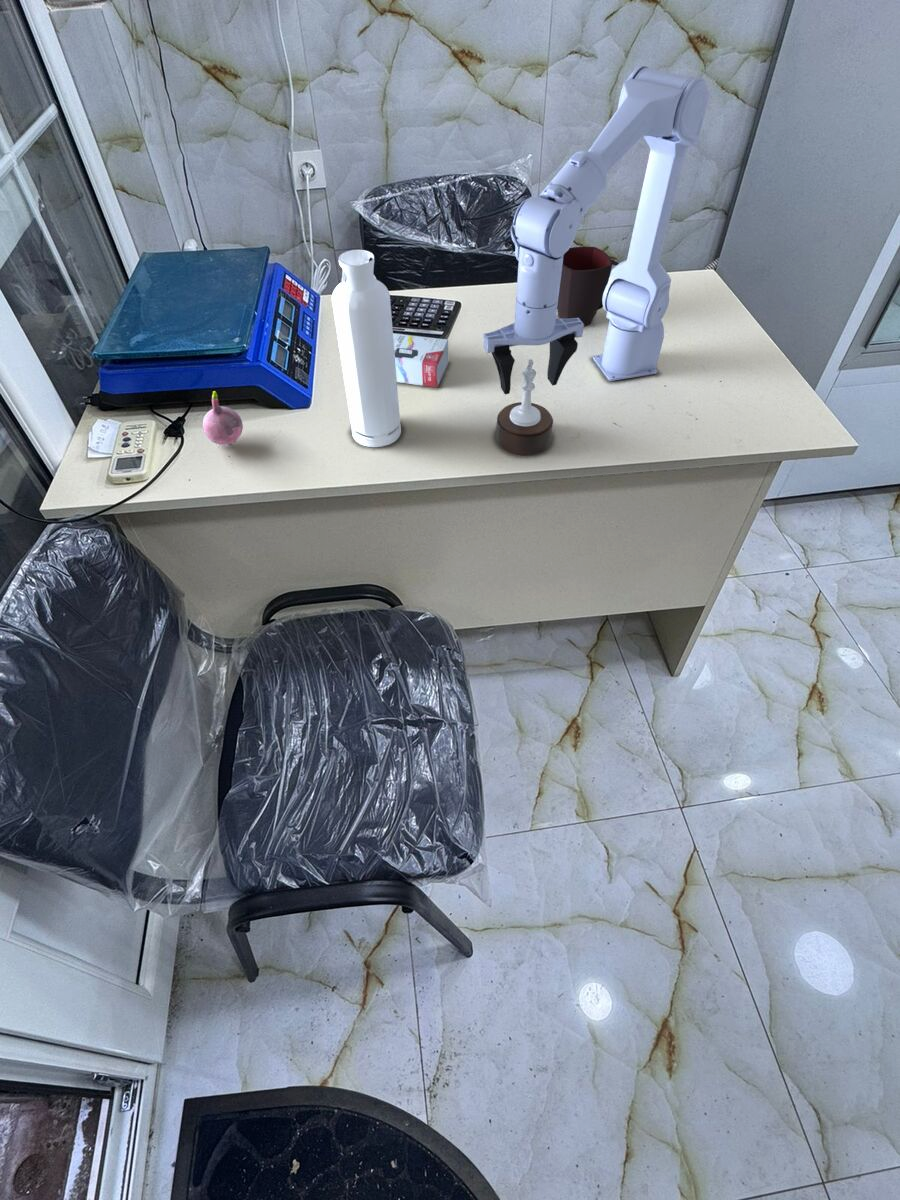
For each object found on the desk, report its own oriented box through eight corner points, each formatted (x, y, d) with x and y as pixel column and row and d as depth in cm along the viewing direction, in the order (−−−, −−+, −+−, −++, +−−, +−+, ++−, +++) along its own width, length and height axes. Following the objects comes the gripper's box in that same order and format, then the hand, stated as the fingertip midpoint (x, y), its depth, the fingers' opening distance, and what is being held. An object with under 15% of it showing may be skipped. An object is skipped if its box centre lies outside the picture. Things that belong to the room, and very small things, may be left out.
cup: (542, 311, 131) (549, 250, 122) (605, 302, 133) (616, 241, 124) (560, 336, 125) (568, 273, 116) (625, 326, 127) (639, 264, 118)
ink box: (437, 364, 111) (372, 356, 112) (437, 389, 115) (374, 380, 116) (448, 338, 116) (386, 330, 118) (448, 362, 120) (388, 355, 121)
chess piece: (544, 412, 103) (551, 355, 96) (534, 429, 101) (541, 372, 93) (515, 405, 105) (520, 348, 97) (505, 422, 102) (509, 365, 94)
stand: (539, 417, 109) (542, 397, 106) (558, 450, 104) (561, 429, 101) (489, 426, 108) (490, 405, 105) (505, 459, 102) (507, 439, 99)
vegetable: (234, 461, 103) (215, 407, 95) (202, 451, 104) (181, 398, 96) (255, 439, 106) (239, 385, 98) (225, 430, 108) (206, 376, 100)
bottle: (406, 442, 105) (393, 266, 83) (357, 451, 104) (331, 275, 82) (394, 413, 110) (379, 240, 88) (348, 422, 109) (320, 248, 87)
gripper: (574, 277, 91) (562, 364, 102) (477, 292, 89) (475, 379, 99) (595, 300, 87) (580, 388, 98) (494, 317, 84) (490, 405, 95)
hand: (528, 386), depth 98 cm, fingers open, 7 cm apart
